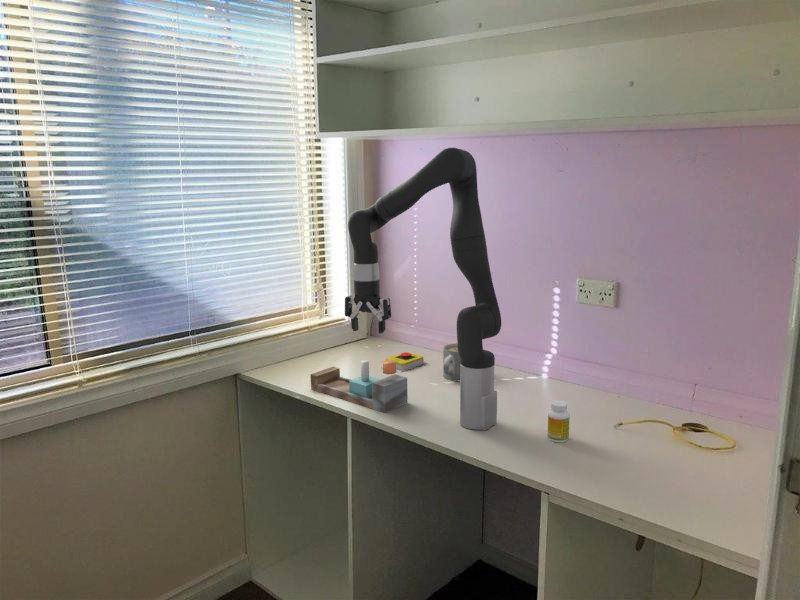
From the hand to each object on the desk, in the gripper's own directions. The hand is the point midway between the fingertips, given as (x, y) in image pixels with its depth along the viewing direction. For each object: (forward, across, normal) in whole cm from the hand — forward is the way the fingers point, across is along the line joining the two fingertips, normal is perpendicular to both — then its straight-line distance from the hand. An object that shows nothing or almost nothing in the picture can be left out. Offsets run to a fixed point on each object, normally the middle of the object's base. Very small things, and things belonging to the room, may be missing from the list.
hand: (368, 331), depth 196 cm
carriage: (+20, +2, -1) cm, 20 cm away
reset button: (+11, -7, +2) cm, 14 cm away
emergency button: (+22, +5, -36) cm, 42 cm away
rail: (+22, +7, -3) cm, 23 cm away
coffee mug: (+22, -16, -30) cm, 41 cm away
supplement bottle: (+23, -58, +6) cm, 62 cm away
